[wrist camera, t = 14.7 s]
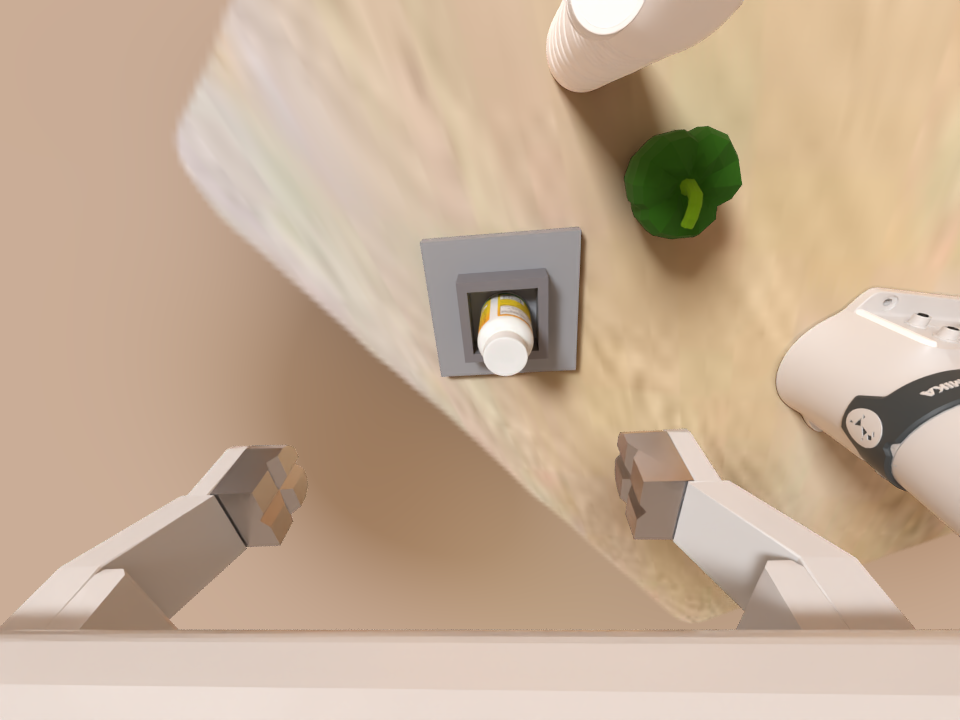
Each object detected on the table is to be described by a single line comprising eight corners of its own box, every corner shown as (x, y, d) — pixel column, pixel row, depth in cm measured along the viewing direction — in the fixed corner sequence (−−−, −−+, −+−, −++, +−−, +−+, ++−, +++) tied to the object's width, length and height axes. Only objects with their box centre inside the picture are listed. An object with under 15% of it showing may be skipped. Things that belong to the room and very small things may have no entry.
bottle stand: (578, 227, 40) (587, 237, 36) (573, 363, 48) (580, 383, 44) (422, 239, 41) (414, 250, 37) (442, 370, 49) (438, 390, 45)
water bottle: (606, -29, 30) (877, -429, 9) (637, 61, 33) (902, -74, 11) (507, 47, 33) (524, -115, 11) (543, 125, 35) (612, 115, 14)
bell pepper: (650, 106, 34) (701, 97, 26) (721, 156, 36) (791, 164, 27) (592, 196, 38) (619, 216, 30) (659, 238, 40) (703, 267, 31)
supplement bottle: (517, 282, 41) (522, 320, 33) (537, 324, 44) (545, 370, 35) (471, 302, 43) (465, 344, 34) (493, 342, 45) (491, 390, 37)
